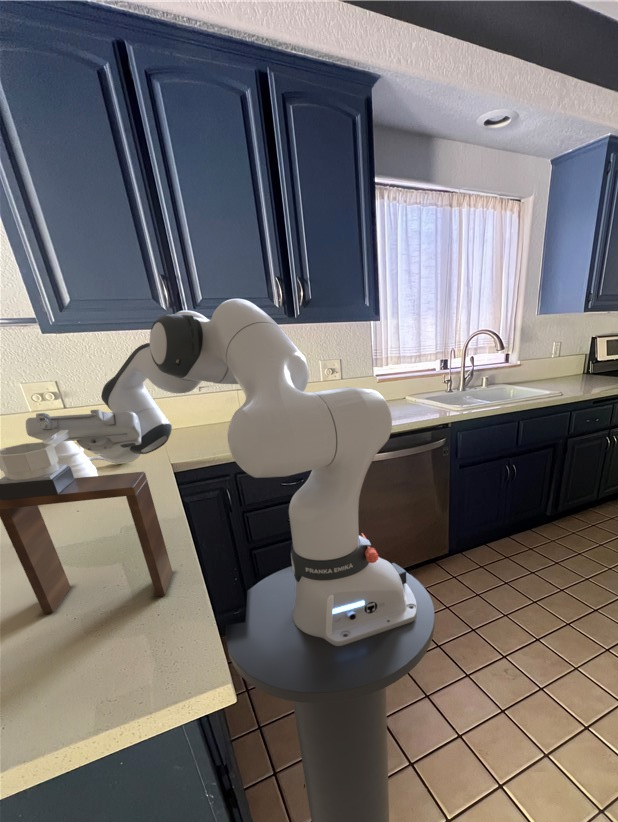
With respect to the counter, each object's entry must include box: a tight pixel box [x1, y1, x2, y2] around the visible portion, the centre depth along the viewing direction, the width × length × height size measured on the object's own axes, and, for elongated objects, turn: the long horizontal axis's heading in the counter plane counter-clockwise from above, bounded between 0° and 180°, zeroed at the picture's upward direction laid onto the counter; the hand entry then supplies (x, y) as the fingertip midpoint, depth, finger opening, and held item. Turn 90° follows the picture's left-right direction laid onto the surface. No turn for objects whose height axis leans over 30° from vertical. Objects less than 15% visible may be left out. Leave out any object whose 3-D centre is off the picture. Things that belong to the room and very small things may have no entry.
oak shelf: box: [0, 471, 174, 615], centre depth 77 cm, size 20×8×22 cm, turn 104°
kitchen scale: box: [0, 464, 75, 500], centre depth 70 cm, size 8×7×3 cm
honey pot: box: [54, 441, 99, 478], centre depth 128 cm, size 13×13×18 cm
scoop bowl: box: [0, 430, 71, 480], centre depth 74 cm, size 7×19×4 cm, turn 15°
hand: (67, 415), depth 83 cm, fingers open, 8 cm apart
